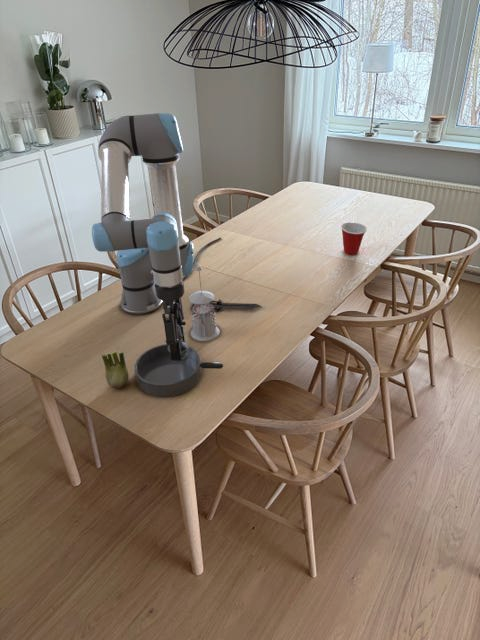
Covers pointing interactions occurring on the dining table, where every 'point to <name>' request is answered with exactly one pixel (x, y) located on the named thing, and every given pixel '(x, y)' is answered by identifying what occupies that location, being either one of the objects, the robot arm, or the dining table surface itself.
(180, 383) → the pan
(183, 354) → the salt shaker
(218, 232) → the dining table surface
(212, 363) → the pan handle
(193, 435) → the dining table surface
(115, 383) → the fennel bulb
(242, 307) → the knife
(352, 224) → the plastic cup
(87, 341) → the dining table surface
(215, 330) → the french press
